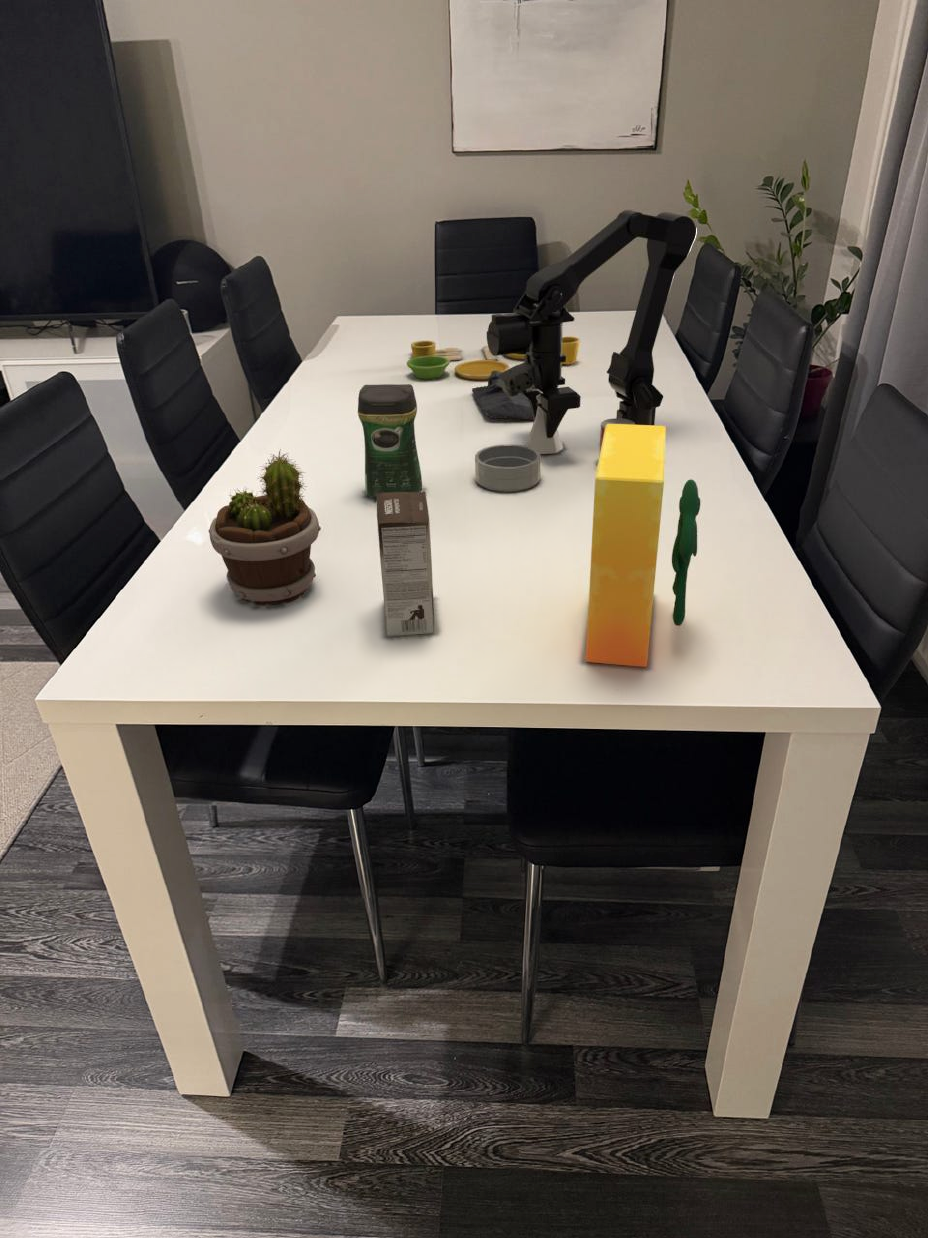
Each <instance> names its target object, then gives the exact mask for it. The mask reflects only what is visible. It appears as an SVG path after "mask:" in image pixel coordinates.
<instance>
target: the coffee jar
mask: <svg viewBox="0 0 928 1238" xmlns="http://www.w3.org/2000/svg"><path fill="white" fill-rule="evenodd" d="M415 394H416V393H415V390H414V387H413V385H412V384H411V383H404V384H402V383H401V384H393V383H392V384H389V383H388V384H364V385H362V387H361V388H360V390H359V392H358V398H357V415H358V420H359V421H360V423H361V426H362V430H363V439H364V441H363V442H364V488H365V494H366V495H367V496H368V497H369V498H371V499H373V500H376V495H377V494H379V493H391V492H422V489H423V479H422V478H423V477H422V471H421V466H420V465H421V464H420V460H419V455H418V449H417V442H416V433H415V432H416V431H415V419H416V416H417V413H418V403H417V399H416V395H415Z"/></svg>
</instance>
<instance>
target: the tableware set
mask: <svg viewBox="0 0 928 1238" xmlns="http://www.w3.org/2000/svg"><path fill="white" fill-rule="evenodd" d="M580 341H581V339H580V338H579V337H576V336H562V354H564V355H565V356H566V362H562V365H573V364H575V363H576V362H577V358H578V353H579V348H580V343H581V342H580ZM436 345H437V344H436V342H435V341H433V340H418V341H414V342H412V343H410V347H411V358H410V359H408V360H407V361H406V366H407V367H408V369H410V370H411V371H412V374H414V376H415V377H416V378H418V379H419V380H420V379H421V380H435V379H438V378H440V377H442V376H443V374H444V373H445V371H446V369H447V367H448V366H449V365H450V363H451V361H460V360H462V354H461V352H460V351H461V349H460V348H459V347H447V348H443V349H436ZM482 350H483V354H484V357H485V359H479V360H469V361H464V362H461V363H459V364H457V365H456V366H455V367H454V368H453V369H454V370H453V371H454V372H455V373H456V374H458V376H459V377H461V378H464V379H469V380H488V378H489V377H490V376H491V373H492V371H499V372H504V371H506V370H508V369H510V365H509V364H508V363H505V362H503V361H499V360H497V356H493V355H492V354H491V352H490V350H489V348H488V345H484V346H483V347H482ZM528 352H530V348H528V349H527V350H526V351H525V352H520V353H513V354H505V356H506V357H508V358H511V359H516V360H524V356H525V355H526V353H528Z"/></svg>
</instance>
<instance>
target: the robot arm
mask: <svg viewBox="0 0 928 1238" xmlns="http://www.w3.org/2000/svg"><path fill="white" fill-rule="evenodd" d="M697 229H698V227H697V226H696V224H695V222H694V220H693V219H692V218H691V217H689V216H687V215H683V214H678V213H675V212H674V213H673V212H670V211H663V212H660V213H658V214H657V215H656V216H655V215H650V214H644V213H643V212H639V211H634V210H632V209H624V210H623V211H621V212H619V213H618V215H617V216H616V218H614V219H613V220H612V221H611V222H610V223H608V224H607V225H606V226H605V227H603V228H602V229H601V230H599V232H597V233H596V234H595V235H594V236H592V237H591V238H590V239H589V240H587V241H586V242H585V243H584V244H583V245H581V246H580V247H579V248H578V249H576V250H574V252H572V253H571V254H570V255H569V256H568V257H566V258H565V259H563V260H561V261H558V262H555V263H551V264H550V265H548V266H545V267H544V268H542V269H540V270H538V271H537V272H535V273H533V274H532V275H531V276H530V277H529V278H528V280H527V281H526V287H525V291H524V292H523V294H522V295H521V296H520V299H519V300H518V302H517V304H516V305H515V307H514V309H513V312H511V313H493V314H492V315H491V321H490V322H489V324H488V327H487V331H486V343H487V346H488V348H489V351H490V352H491V354H492V355H493V356H496V357H497V356H504V355H505V354H513V353H520V352H525V351H526V350H527V349H528V348H530V352H528V353H526V355H525V356H524V359H523V360H524V361H523V362H522V363H519V364H516V365H514V366H512V367H509V369H508V370H506V371H504V372H502V373H500V374H499V375H498V378H499V381H500V383H501V386H502V389H503V392H505V393H507V394H508V396H509V397H513V396H516V395H518V393H520V392H521V393H522V394H523V395H524V396H525V397H527V398H528V400H529V403H530V407H531V410H532V414H533V418H534V420H535V418H536V413H537V408H538V407H539V408H540V409H542V410H543V412H544V421H545V430H546V436H547V438H552V437H553V436H554V434H555V432H556V430H558V428H559V426H560V424H561V423H562V420H563V419H564V417H565V415H566V414H567V412H568V411H569V410H573V409H579V408H581V395H580V393H578V392H577V391H575V390H574V389H573V388H572V387H570V386H564V385H566V378H565V377H563V376H562V366H563V364H562V362H566V356H565V355H564V354H562V337H563V330H564V329H563V326H564V323H570V322H575V317H574V316H573V315H572V314H571V313H570V312H569V311H568V309H567V307H565V306H566V305H567V304H568V303H569V302H570V301H571V300H572V299H573V298H574V296H576V294H577V292H578V291H579V288H580V286H581V284H582V283H583V282H584V281H585V280H586V279H587V278H588V277H589V276H591V275H592V274H593V273H594V272H596V271H597V270H598V269H600V268H601V267H602V266H603V265H604V264H606V263H607V262H608V261H609V260H610V259H611V258H613V257H614V256H615V255H617V254H618V253H619V252H620V251H622V250H623V249H624V248H625V247H626V246H628V245H629V244H630V243H631V242H633V241H634V240H635V239H636V238H641V239H646V251H647V252H646V253H647V254H646V255H647V260H648V264H647V265H648V267H647V270H646V273H645V278H644V281H643V285H642V288H641V292H640V296H639V299H638V302H637V306H636V310H635V312H634V313H635V314H634V317H633V321H632V325H631V328H630V332H629V336H628V339H627V342H626V345H625V346H624V347H623V348H622V350H621V351H620V352H616V351H613V352H612V354H611V359H610V365H609V367H608V369H607V370H606V374H608V378H607V379H608V380H607V381H608V384H609V386H610V387H611V389H612V390H614V392H615V396H616V398H617V399H620V401H619V403H618V404H619V405H618V406H619V407H618V409H617V410H616V417H615V418H621V419H627V420H631V421H633V422H634V423H635V425H654V426H655V423H656V422H655V421H656V411H657V408H659V407H660V406H661V404H662V401H663V399H664V395H663V394H662V393H661V392H660V391H659V389H658V388H657V387H655V385H654V384H653V381H654V375H655V362H654V355H653V350H654V347H655V343H656V339H657V337H658V332H659V329H660V326H661V322H662V319H663V315H664V312H665V309H666V305H667V302H668V299H669V295H670V292H671V288H672V284H673V281H674V277H675V274H676V272H677V270H678V268H679V267H681V265H683V263H684V261H685V260H686V259H687V258H688V256H689V254H690V252H691V250H692V247H693V245H694V243H695V242H696V239H697V238H696V237H697V233H698V231H697ZM534 306H535V307H536V308H533V307H534ZM505 356H506V355H505ZM559 386H561V387H559ZM539 394H541V398H540V401H541V403H538V400H537V398H536V396H537V395H539ZM534 420H533V421H534Z"/></svg>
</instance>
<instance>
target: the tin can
mask: <svg viewBox="0 0 928 1238" xmlns="http://www.w3.org/2000/svg"><path fill="white" fill-rule="evenodd" d="M607 424H629V425H635V423H634V422H633V421H631V420H627V419H621V418H616V417H615V418H614V417H613V418H608V419H607V418H606V419H604V420H602V421H601V422H600V430H599V431H600V432H599V433H600V434H599V453H598V458H599V457H600V452H601V447H602V442H603V437H604V432H605V427H606V425H607Z"/></svg>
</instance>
